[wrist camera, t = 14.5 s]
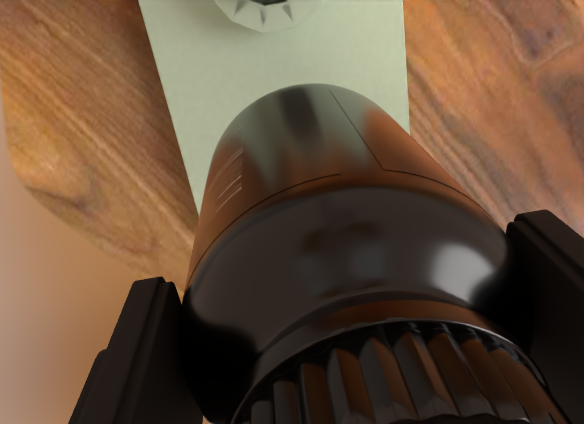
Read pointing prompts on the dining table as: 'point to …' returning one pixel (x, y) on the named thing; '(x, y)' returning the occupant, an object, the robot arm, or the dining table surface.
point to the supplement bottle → (351, 279)
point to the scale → (268, 60)
